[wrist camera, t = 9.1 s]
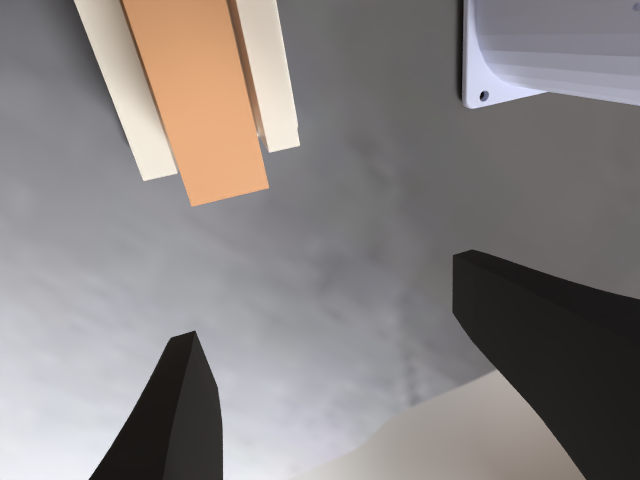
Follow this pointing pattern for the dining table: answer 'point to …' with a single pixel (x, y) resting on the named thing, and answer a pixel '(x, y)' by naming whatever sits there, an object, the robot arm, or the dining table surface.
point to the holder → (138, 98)
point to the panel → (200, 94)
